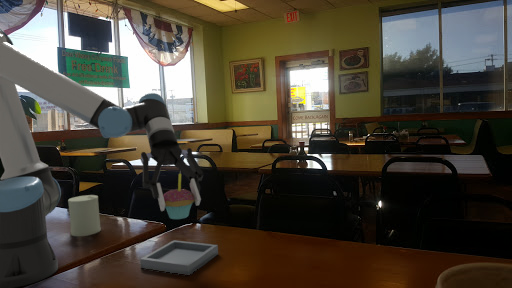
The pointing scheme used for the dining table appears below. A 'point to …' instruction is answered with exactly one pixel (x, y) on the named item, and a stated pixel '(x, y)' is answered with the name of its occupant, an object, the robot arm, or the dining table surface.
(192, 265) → the tray
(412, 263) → the dining table surface
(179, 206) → the cupcake
